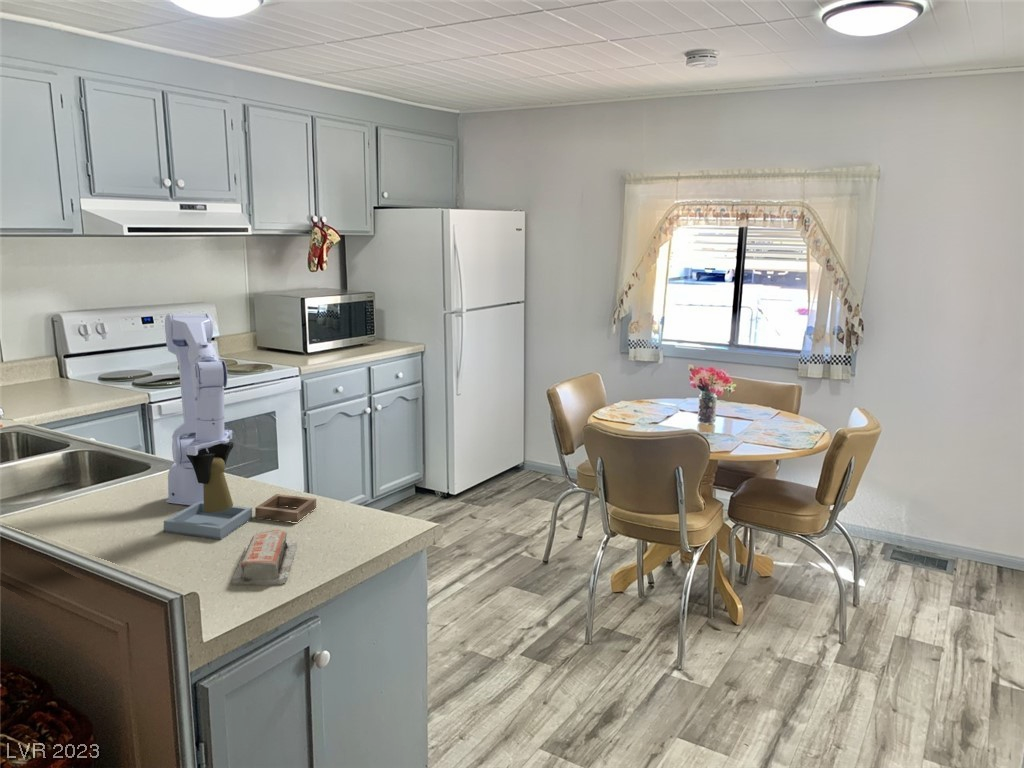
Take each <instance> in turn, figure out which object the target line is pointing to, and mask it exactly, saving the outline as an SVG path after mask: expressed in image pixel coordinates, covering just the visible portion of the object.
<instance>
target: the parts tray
mask: <svg viewBox="0 0 1024 768" xmlns="http://www.w3.org/2000/svg"><path fill="white" fill-rule="evenodd" d="M250 519H251V520H252V519H253V507H246V506H240V505H239V506H238V505H233V506H232V507H231V508H229V509H227V510H224V511H220V512H205V511H204V502H200V501H199V502H197V503H195V504H193V505H191V506H190V505H189V506H188V507H186V508H185V509H183V510H181V511H178V512H177V513H175V514H174V515H172V516H170V517H168V518H166V519H165V520H163V532H164V533H166V532H167V534H173V533H174V534H173V535H180V534H181V536H188V537H197V538H203V539H212V540H219V541H221V540H223V539H225V538H226V537H227V536H229V535H230V534H232V533H233V532H235V531H237V530H238V529H239V528H241V527H242V526H243V524H244V525H245V524H246V522H247V521H248V522H249V520H250ZM251 520H250V521H251ZM248 522H247V523H248ZM241 525H242V526H241ZM240 526H241V527H240ZM238 527H239V528H238ZM237 528H238V529H237ZM234 530H235V531H234ZM231 532H232V533H231ZM228 534H229V535H228Z"/></svg>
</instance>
